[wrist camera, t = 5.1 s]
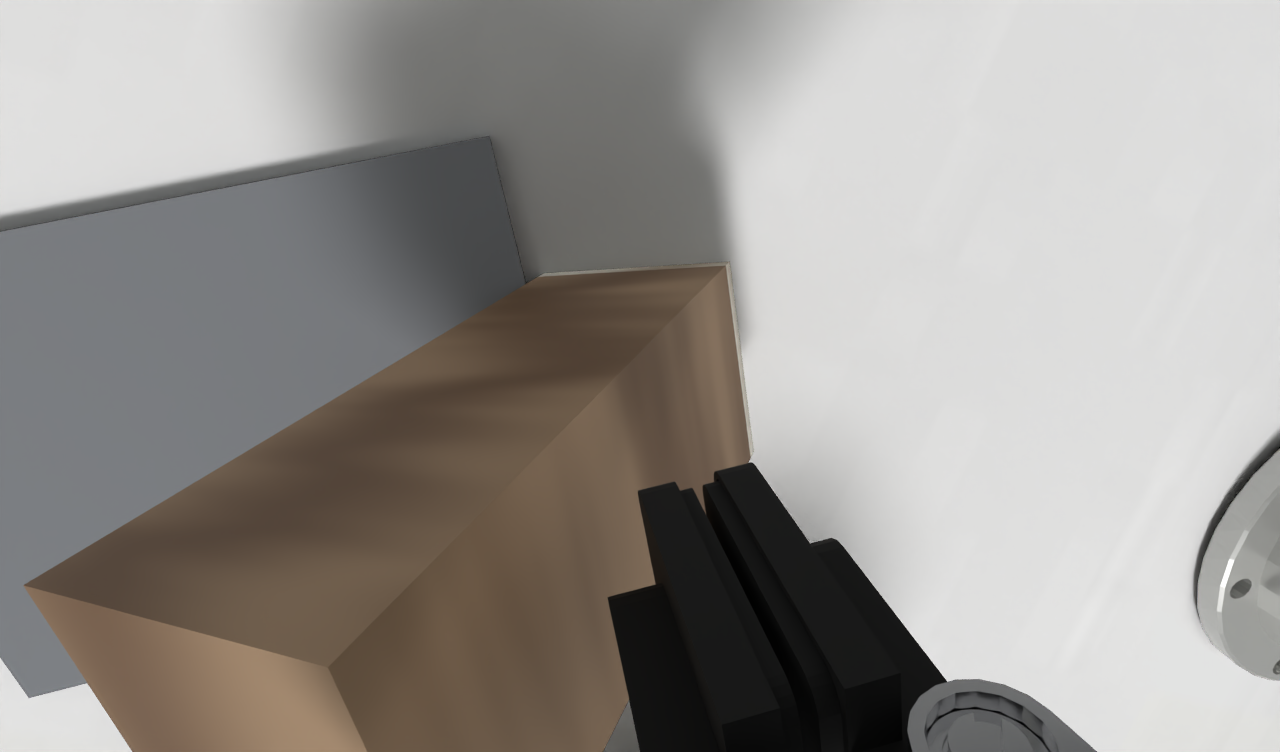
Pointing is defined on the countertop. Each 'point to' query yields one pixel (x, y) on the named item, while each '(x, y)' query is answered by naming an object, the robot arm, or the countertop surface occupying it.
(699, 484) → the block
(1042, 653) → the countertop surface
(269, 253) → the mat
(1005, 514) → the countertop surface
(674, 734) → the robot arm
